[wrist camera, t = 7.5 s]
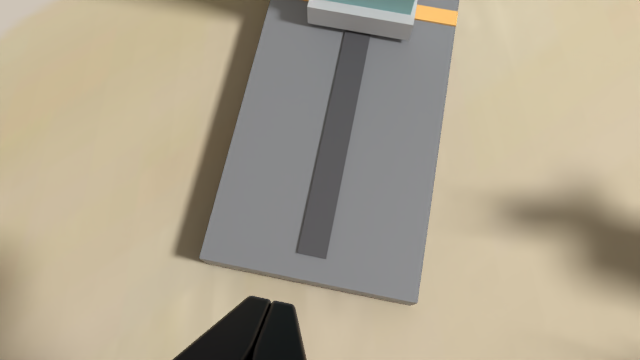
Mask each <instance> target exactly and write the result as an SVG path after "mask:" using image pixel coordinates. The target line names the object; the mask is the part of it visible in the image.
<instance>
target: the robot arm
mask: <svg viewBox="0 0 640 360" xmlns="http://www.w3.org/2000/svg"><path fill="white" fill-rule="evenodd" d="M173 360H307V359H306V355H305V350H304V346H303V341H302V337H301V332H300V328H299V323H298V318H297V314H296V309H295V307H294V305H292V304H289V303H284V302H279V301H273V302H272V303H271V301H270V300H269V299H265V298H260V297H255V296H249V297H247V298H246V299H245V300H244V301H242V302H241V303H240V304H239V305H238V306H236V307H235V308H234V309H233V310H232V311H230V312H229V313H228V314H227V315H226V316H224V317H223V318H222V319H221V320H220V321H218V322H217V323H216V324H215V325H214V326H212V327H211V328H210V329H209V330H208V331H206V332H205V333H204V334H203V335H202V336H200V337H199V338H198V339H197V340H196V341H194V342H193V343H192V344H191V345H189V346H188V347H187V348H186V349H185V350H183V351H182V352H181V353H180V354H179V355H177V356H176V357H175V358H174V359H173Z"/></svg>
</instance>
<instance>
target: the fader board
mask: <svg viewBox="0 0 640 360" xmlns="http://www.w3.org/2000/svg"><path fill="white" fill-rule="evenodd" d="M308 2H309V0H270V3H269V7H268V11H267V14H266V18H265V22H264V25H263V29H262V32H261V36H260V40H259V43H258V47H257V50H256V54H255V58H254V61H253V65H252V68H251V72H250V76H249V79H248V83H247V87H246V90H245V94H244V97H243V101H242V105H241V108H240V112H239V115H238V119H237V123H236V126H235V130H234V133H233V137H232V141H231V144H230V148H229V152H228V155H227V159H226V162H225V166H224V170H223V173H222V177H221V180H220V184H219V188H218V191H217V195H216V199H215V202H214V206H213V209H212V213H211V217H210V220H209V224H208V227H207V231H206V235H205V238H204V242H203V245H202V249H201V253H200V256H199V259H201V260H202V261H204V262H205V263H207V264H211V265H216V266H221V267H226V268H231V269H236V270H240V271H245V272H250V273H255V274H260V275H265V276H269V277H274V278H279V279H284V280H289V281H294V282H299V283H303V284H308V285H313V286H318V287H323V288H328V289H333V290H337V291H342V292H347V293H352V294H357V295H362V296H366V297H371V298H376V299H381V300H386V301H391V302H396V303H400V304H405V305H410V306H411V305H414V304H416V303H417V302H418V295H419V287H420V280H421V273H422V266H423V258H424V251H425V244H426V237H427V229H428V222H429V215H430V208H431V201H432V193H433V186H434V179H435V172H436V164H437V157H438V150H439V143H440V135H441V128H442V121H443V114H444V106H445V99H446V92H447V85H448V77H449V70H450V63H451V56H452V49H453V41H454V34H455V27H456V22H457V15H458V5H459V0H418V1H417V7H416V13H415V18H414V24H413V28H412V31H411V35H410V38H409V41H407V40H401V39H396V38H390V37H384V36H378V35H373V34H367V33H361V32H356V31H350V30H344V29H338V28H333V27H327V26H321V25H316V24H310V23H308V16H307V6H308Z"/></svg>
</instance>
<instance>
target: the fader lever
mask: <svg viewBox="0 0 640 360" xmlns="http://www.w3.org/2000/svg"><path fill="white" fill-rule="evenodd" d="M417 1H418V0H309V2H308V6H307V16H308V23H310V24H316V25H321V26H327V27H333V28H338V29H344V30H350V31H356V32H361V33H367V34H373V35H378V36H384V37H390V38H396V39H401V40H407V41H409V38H410V35H411V31H412V28H413V24H414V18H415V13H416V7H417Z"/></svg>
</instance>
